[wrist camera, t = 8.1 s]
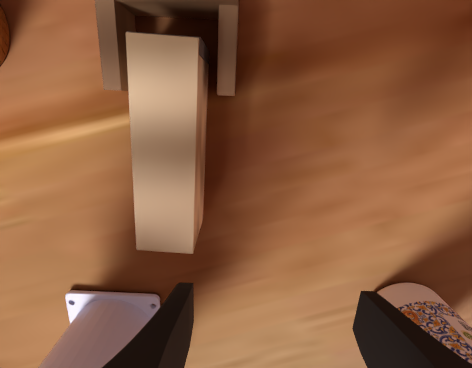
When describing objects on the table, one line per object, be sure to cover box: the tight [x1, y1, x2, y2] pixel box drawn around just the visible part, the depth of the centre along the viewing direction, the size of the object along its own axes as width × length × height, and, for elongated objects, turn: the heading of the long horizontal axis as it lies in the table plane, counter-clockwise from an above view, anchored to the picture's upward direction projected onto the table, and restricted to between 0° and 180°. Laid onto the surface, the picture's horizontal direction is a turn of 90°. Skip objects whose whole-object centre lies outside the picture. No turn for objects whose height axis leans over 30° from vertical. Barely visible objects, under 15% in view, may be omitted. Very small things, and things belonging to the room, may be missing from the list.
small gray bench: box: [95, 0, 239, 96], centre depth 14 cm, size 6×8×8 cm
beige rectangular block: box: [126, 31, 210, 254], centre depth 17 cm, size 12×4×5 cm, turn 176°
